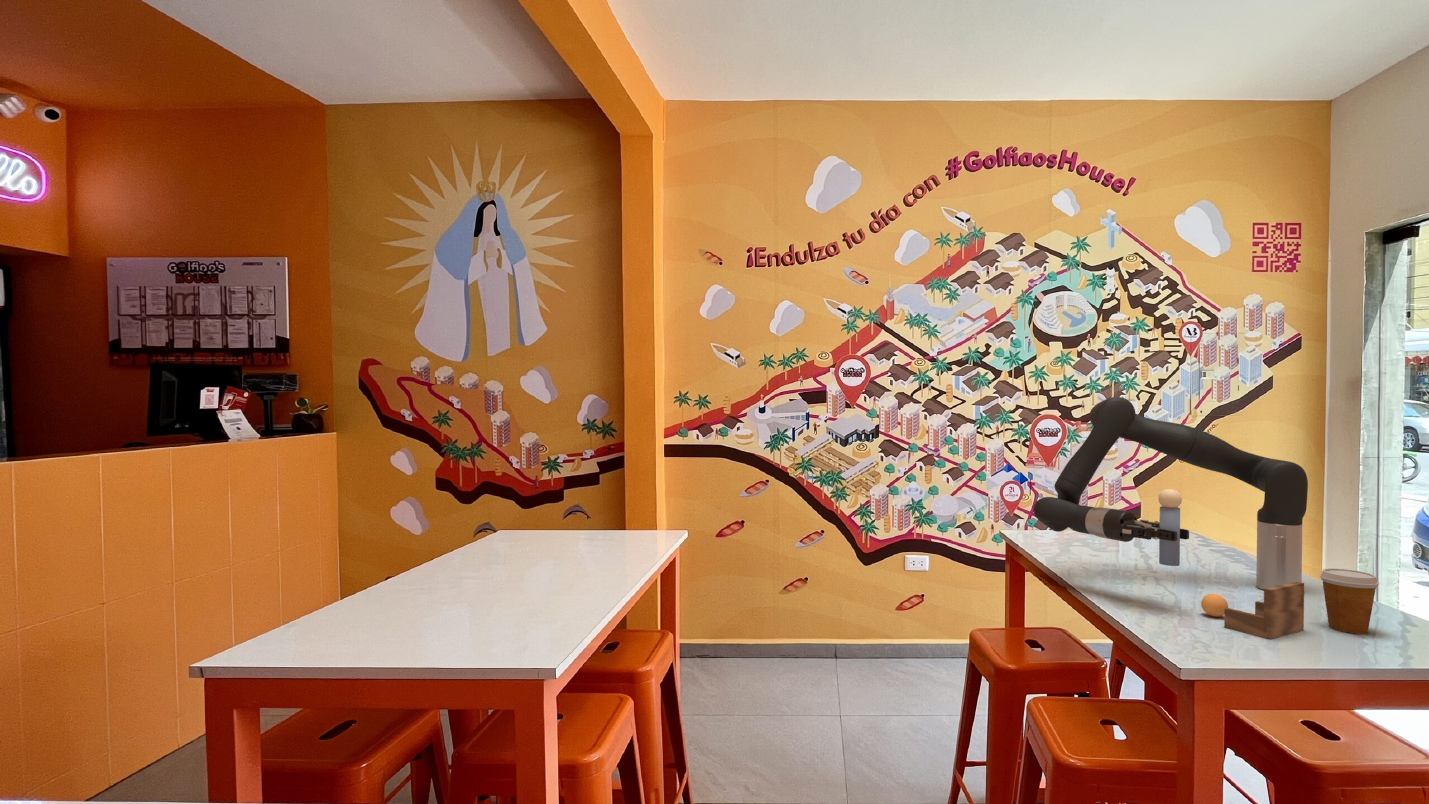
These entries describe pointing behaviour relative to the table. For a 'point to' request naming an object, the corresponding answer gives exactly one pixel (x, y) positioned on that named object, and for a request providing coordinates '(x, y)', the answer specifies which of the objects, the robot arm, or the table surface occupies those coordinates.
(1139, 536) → the robot arm
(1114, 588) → the table surface
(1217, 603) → the ball
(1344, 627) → the disposable coffee cup
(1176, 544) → the player figure
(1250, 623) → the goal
